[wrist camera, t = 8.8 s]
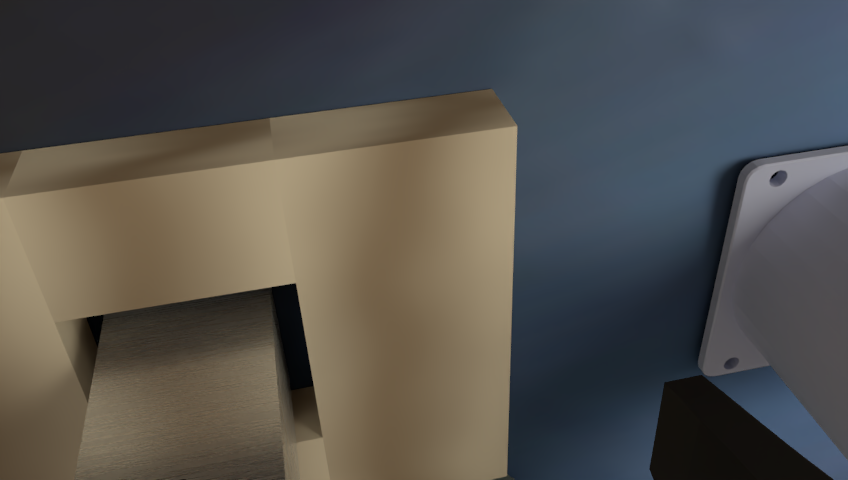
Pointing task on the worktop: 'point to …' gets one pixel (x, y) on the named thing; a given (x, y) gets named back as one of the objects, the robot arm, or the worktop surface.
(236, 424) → the square peg
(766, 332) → the robot arm
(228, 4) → the worktop surface
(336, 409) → the socket board
